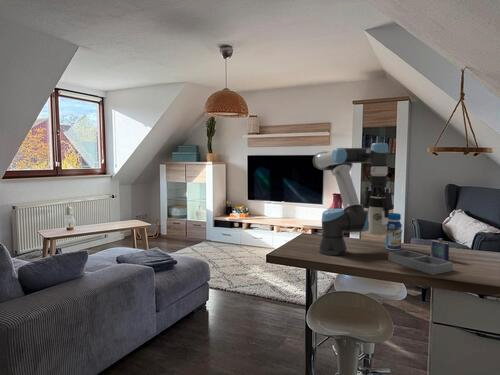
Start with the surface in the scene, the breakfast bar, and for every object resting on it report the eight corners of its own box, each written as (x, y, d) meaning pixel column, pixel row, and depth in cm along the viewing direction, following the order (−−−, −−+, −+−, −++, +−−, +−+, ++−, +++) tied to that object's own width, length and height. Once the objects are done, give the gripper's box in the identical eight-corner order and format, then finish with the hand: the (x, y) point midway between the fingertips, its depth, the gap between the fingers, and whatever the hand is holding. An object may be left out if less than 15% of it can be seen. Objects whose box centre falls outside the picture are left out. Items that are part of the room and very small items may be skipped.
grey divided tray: (388, 260, 164) (388, 252, 164) (406, 257, 170) (406, 249, 169) (433, 274, 142) (433, 266, 142) (452, 270, 148) (452, 262, 147)
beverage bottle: (392, 246, 192) (393, 212, 191) (404, 249, 184) (405, 214, 183) (382, 247, 188) (382, 213, 187) (393, 251, 181) (394, 215, 179)
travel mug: (371, 230, 165) (372, 195, 163) (388, 233, 160) (389, 196, 158) (366, 233, 158) (367, 196, 157) (383, 236, 153) (384, 197, 152)
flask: (429, 257, 169) (430, 236, 168) (433, 256, 170) (434, 236, 170) (446, 262, 161) (447, 240, 160) (450, 261, 162) (451, 240, 161)
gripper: (357, 174, 165) (356, 219, 166) (390, 176, 146) (389, 227, 148) (368, 174, 168) (367, 218, 170) (402, 176, 149) (401, 225, 151)
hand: (377, 222), depth 159 cm, fingers closed on travel mug, 8 cm apart
